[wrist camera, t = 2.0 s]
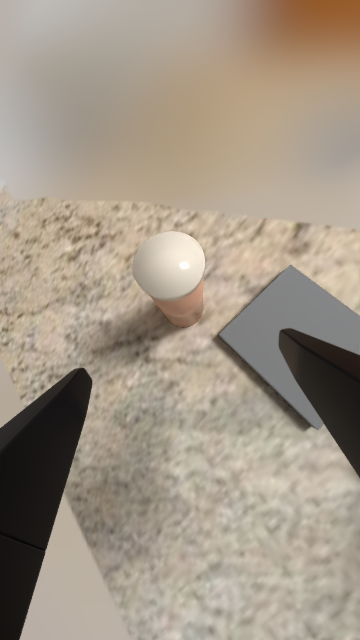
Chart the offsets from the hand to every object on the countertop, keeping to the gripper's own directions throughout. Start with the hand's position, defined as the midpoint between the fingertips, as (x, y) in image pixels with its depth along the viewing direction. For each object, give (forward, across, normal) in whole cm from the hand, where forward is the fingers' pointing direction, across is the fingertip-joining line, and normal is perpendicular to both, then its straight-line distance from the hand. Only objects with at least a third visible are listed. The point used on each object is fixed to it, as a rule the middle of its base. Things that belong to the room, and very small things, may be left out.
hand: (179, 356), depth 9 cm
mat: (+9, -11, +8) cm, 17 cm away
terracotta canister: (+13, 0, +4) cm, 14 cm away
